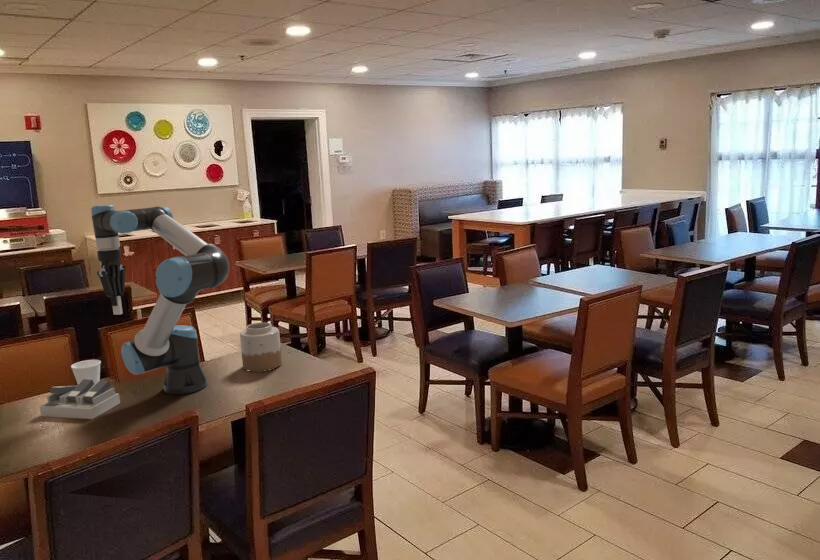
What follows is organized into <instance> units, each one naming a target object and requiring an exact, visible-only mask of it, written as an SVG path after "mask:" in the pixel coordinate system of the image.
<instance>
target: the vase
mask: <svg viewBox="0 0 820 560" xmlns="http://www.w3.org/2000/svg"><path fill="white" fill-rule="evenodd" d="M239 341H240V352H241V360H242V368H243V370H244V369H246V370H250V371H264V370H269V369H273V368H276V367H278V366H280V365H281V364H283V359H282V358H283V357H282V348H281V337H280V330H279V328H278V327H276V326H272V323H269V322H255V323H250V324H248V325H246V327H245V329H242V330H241V331H240V333H239ZM281 366H282V365H281ZM281 366H280V367H281ZM278 368H279V367H278ZM276 369H277V368H276ZM246 370H245V371H246ZM273 370H274V369H273ZM250 371H249V372H250ZM269 371H270V370H269ZM264 372H265V371H264Z"/></svg>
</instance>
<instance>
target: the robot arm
mask: <svg viewBox="0 0 820 560" xmlns="http://www.w3.org/2000/svg"><path fill="white" fill-rule="evenodd" d="M90 209H91V210H90V211H91V220H92V227H93V232H94V238H95V246H96V249H97V252H96V253H97V259H98V261H99V262H100V263H101V266H100V268H101V269H100V270H99V271H97V272H96V275H97V276H98V278H99V280H100V282H101V285H102V286H101V287H102V289H103V292H104V295H105V297H107V298H109V299H110V303H111V307H112V312H113V315H118V316H119V315H123V313H124V312H123V306H122V304H123V303H122V296H124V294H125V290H126V289H125V283H126V282H125V278H126V276H125V275H126V268H127V266H126V265H123V264H122V263H121V261H120V260H121V259H122V252H121V251H122V250H121V248H120V247H121V243H120V238H119V236H120V235H119V234H123V235H124V234H129V233H133V232H138V231H146V230H147V231H149V230H151V231H152V232H154V233H155V234H156V235H158V236H159V237H160V238H162V239H163V240H164V241H166V242H167V243H169V245H171V246H172V247H173V248H175V249H177V250H178V251H179V252H180V253H181V254H183V255H184V256H173V257H171V258H168V259H165V260H163V261H162V262H160V263H159V264H158V266H157V269H156V272H155V277H156V278H155V284H156V287H157V290H158V292H159V296H158V297H157V300H156V302H155V304H154V306H153V307H152V310H151V313H150V315H149V317H148V319H147V321H146V323H145V325H144V328H143V329H140V330H139V331H137V332H136V333H135V335H134V337H133V340H131V341H126V342H124V343H123V344H122V345H121V349H120V350H121V357H122V361H123V363H124V365H125V368H126V369H127V370H128V371H129V373H131V375H132V374H133V375H136V376H137V375H142V374H145V373H148V372H152V371H154V370H158V369H161V368H163V367H166V372H165V377H164V381H163V391H164V392H165V393H166V394H168V395H169V394H170V395H185V394H190V393H194V392H198V391H201V390H203V389H204V388H206V387H207V385H208V379H207V376H206V374H205V372H204V370H203V368H202V366H201V362H200V353H199V350H200V349H199V345H198V344H199V342H198V335H197V330H196V328H195V327H194V326H191V325H185V324H183V325H181V324H178V325H177V323H178V321H179V319H180V317H181V315H182V314H183V311H184V310H185V308H186V306H187V305H189V304H190V303H193V301H195V299H196V297H197V296H198V293H199V292H201V291H205V290H208V289H213V288H216V287H219V286H220V285H222V284H223V283H224V282H225V280H226V279H227V278H228V276H229V273H230V261H229V258H228V256H227V255H226V254H225V252H224V251H223V250H222V249H221V248H220V247H218V246H216V245H215V244H212V243H207V242H206V241H204V239H202V238H201V237H199V236H198V235H196V234H195V233H194V232H192V231H191V230H189V229H188V228H186V227H185V226H184V225H182V224H181V223H180V222H179V221H176V220H175V219H174V216H173V213H172V211H171V210H170V209H171V208H169V207H168V206H158V205H157V206H152V207H151V206H150V207H145V208H135V209H134V208H131V209H124V210H123V209H122V210H116V208H115V206H114V204H100V205H93V206H92V207H91V208H90Z"/></svg>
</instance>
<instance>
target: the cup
mask: <svg viewBox="0 0 820 560" xmlns="http://www.w3.org/2000/svg"><path fill="white" fill-rule="evenodd" d="M101 364H102V361H101V360H100V359H86V360H81V361H78V362H75V363H73V364H71V365H70V368H71V370H72V373H73V375H74V378H75V381H76V383H77V384H76V385H77V386H78V385H79V384H80V383H81V381H82V380H83V379H87V380H93V382H94V385H93V386H92V387H91V388H90V390H91V389H92V388H93V387H94V386H95V385H96V384H97V383H98V382H99V381H101V380H100V378H101ZM90 390H89V391H90Z"/></svg>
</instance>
